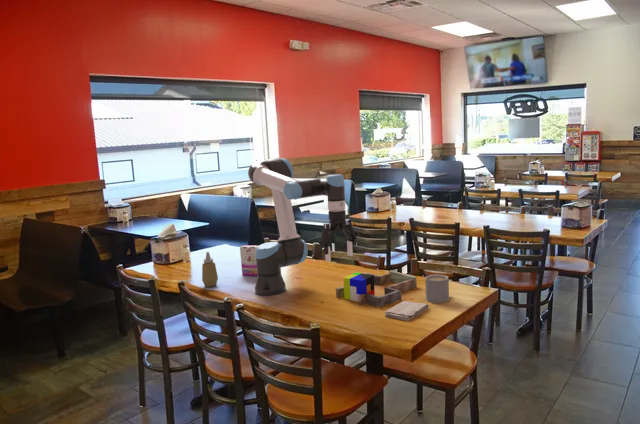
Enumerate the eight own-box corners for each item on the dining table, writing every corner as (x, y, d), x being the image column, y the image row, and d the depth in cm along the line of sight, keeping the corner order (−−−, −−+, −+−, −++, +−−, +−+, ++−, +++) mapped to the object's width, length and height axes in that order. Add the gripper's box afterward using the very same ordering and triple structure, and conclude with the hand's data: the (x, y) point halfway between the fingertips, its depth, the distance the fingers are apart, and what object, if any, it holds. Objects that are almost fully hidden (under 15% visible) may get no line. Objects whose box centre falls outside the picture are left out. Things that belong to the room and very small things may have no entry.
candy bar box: (264, 274, 291) (261, 245, 289) (259, 276, 286) (257, 247, 284) (246, 273, 295) (244, 244, 293) (241, 275, 291) (239, 246, 288)
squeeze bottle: (221, 284, 276) (218, 250, 274) (212, 288, 269) (209, 254, 266) (209, 283, 280) (206, 250, 277) (199, 287, 273) (196, 253, 270)
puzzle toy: (363, 302, 236) (362, 280, 234) (344, 299, 242) (343, 277, 240) (374, 296, 244) (373, 275, 242) (356, 292, 250) (355, 272, 248)
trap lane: (372, 309, 226) (372, 297, 225) (326, 293, 251) (325, 283, 250) (428, 290, 247) (428, 279, 247) (380, 277, 273) (380, 267, 272)
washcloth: (383, 318, 216) (383, 310, 216) (403, 304, 231) (403, 298, 230) (409, 323, 209) (409, 315, 209) (429, 309, 224) (428, 302, 223)
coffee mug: (443, 304, 227) (443, 281, 225) (422, 301, 233) (421, 279, 231) (455, 295, 238) (454, 273, 236) (434, 292, 243) (434, 271, 242)
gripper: (320, 214, 220) (323, 265, 223) (363, 207, 234) (365, 254, 237) (309, 213, 225) (312, 262, 229) (352, 205, 240) (354, 252, 243)
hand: (339, 258), depth 233 cm, fingers open, 12 cm apart
